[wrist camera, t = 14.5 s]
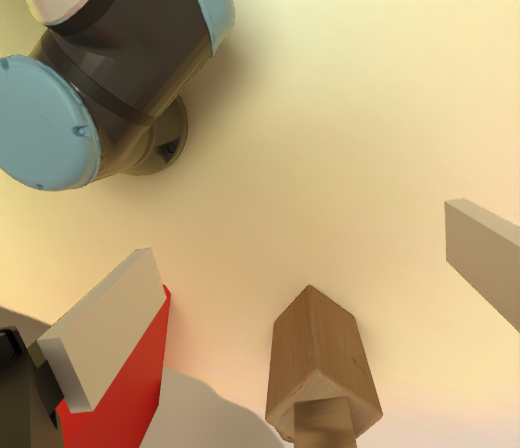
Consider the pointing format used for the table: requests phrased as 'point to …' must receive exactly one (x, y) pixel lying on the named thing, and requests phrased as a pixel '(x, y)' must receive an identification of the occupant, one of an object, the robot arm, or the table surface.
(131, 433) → the book
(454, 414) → the table surface
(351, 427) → the walnut block
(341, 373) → the wooden block
